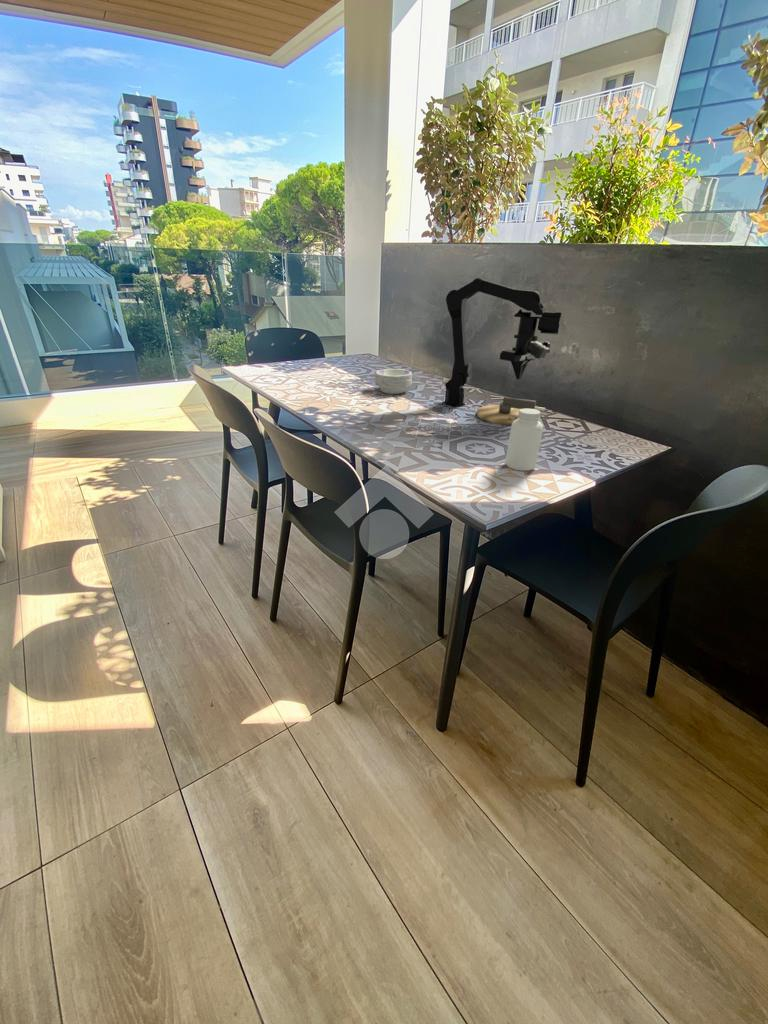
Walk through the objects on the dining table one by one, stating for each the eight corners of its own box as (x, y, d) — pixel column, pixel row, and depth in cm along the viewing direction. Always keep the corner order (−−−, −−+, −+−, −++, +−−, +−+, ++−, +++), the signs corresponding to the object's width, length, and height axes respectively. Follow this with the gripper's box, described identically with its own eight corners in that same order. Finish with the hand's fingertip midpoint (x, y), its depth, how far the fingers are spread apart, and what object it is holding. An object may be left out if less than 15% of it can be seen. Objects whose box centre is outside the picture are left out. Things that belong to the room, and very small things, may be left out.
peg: (497, 412, 158) (500, 398, 156) (499, 409, 161) (502, 395, 159) (542, 418, 153) (545, 404, 151) (543, 415, 156) (546, 401, 154)
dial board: (465, 414, 160) (466, 409, 160) (498, 406, 172) (498, 401, 171) (510, 428, 148) (511, 423, 147) (542, 418, 159) (543, 413, 158)
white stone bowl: (373, 386, 193) (373, 367, 189) (408, 386, 195) (409, 368, 191) (376, 396, 180) (376, 375, 176) (414, 396, 181) (415, 376, 177)
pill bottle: (500, 460, 124) (509, 406, 117) (529, 459, 125) (539, 406, 118) (510, 471, 117) (520, 415, 110) (540, 471, 118) (552, 415, 111)
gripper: (531, 337, 141) (522, 387, 149) (562, 333, 152) (552, 380, 159) (502, 332, 148) (495, 380, 156) (534, 329, 159) (525, 374, 167)
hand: (518, 379), depth 159 cm, fingers closed
